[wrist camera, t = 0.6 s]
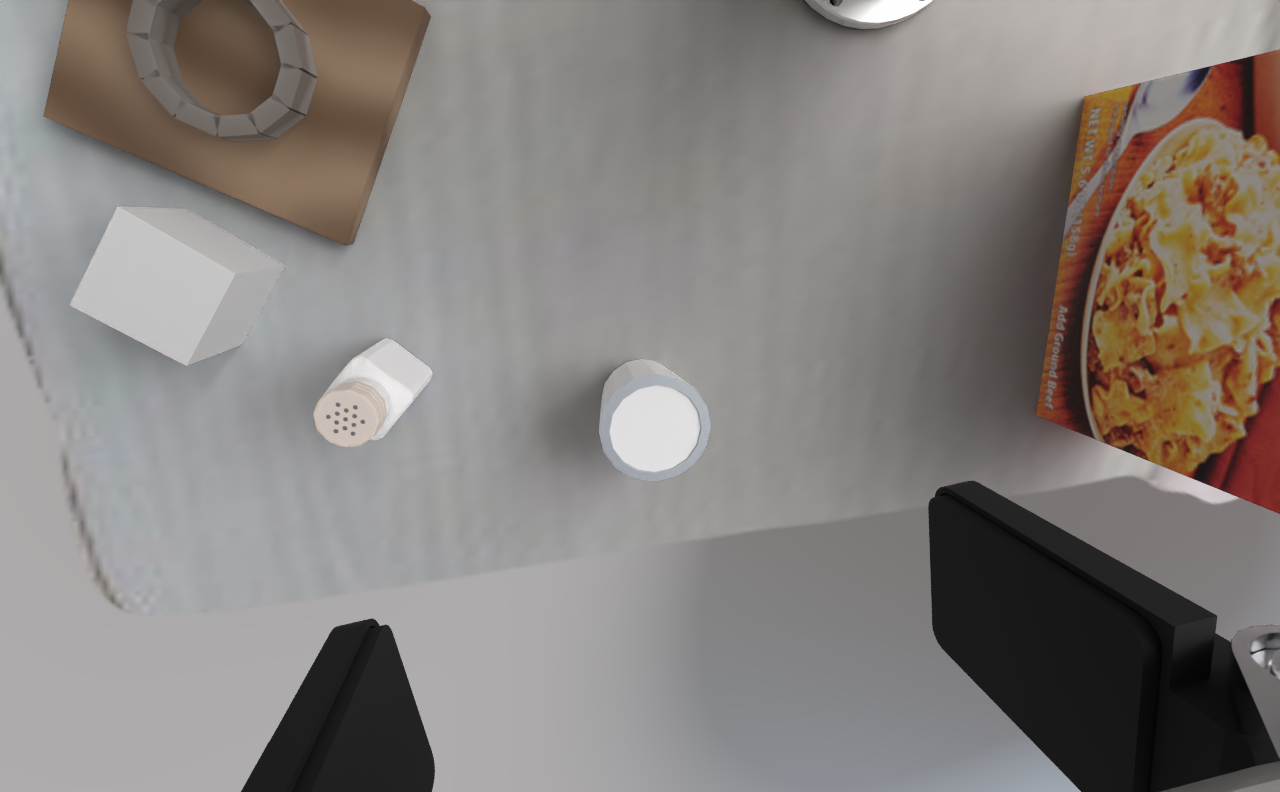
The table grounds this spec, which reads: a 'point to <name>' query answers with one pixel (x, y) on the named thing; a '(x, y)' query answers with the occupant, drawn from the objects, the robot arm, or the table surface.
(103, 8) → the carrier board
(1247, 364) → the pasta box
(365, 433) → the salt shaker
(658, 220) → the table surface
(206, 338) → the white cube
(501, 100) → the table surface
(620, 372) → the shot glass
